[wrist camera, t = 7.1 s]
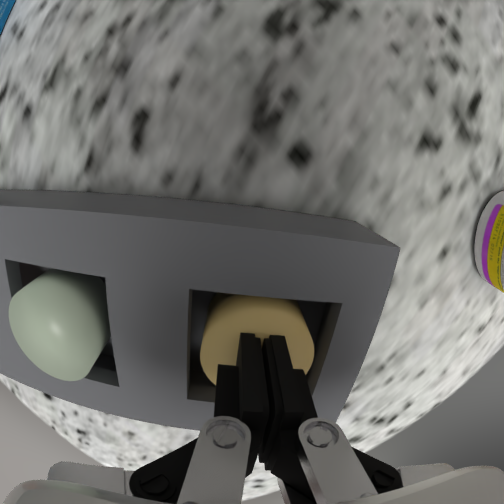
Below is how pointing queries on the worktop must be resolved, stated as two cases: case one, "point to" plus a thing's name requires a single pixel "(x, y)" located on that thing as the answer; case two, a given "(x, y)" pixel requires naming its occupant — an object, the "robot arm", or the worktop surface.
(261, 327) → the ochre button
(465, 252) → the worktop surface
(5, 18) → the milk carton
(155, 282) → the button panel
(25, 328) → the sage button
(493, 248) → the supplement bottle
